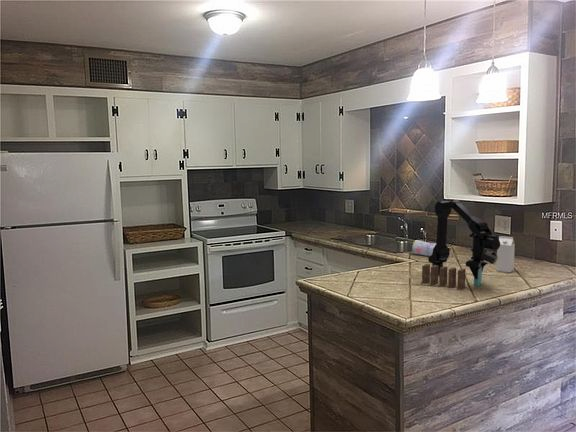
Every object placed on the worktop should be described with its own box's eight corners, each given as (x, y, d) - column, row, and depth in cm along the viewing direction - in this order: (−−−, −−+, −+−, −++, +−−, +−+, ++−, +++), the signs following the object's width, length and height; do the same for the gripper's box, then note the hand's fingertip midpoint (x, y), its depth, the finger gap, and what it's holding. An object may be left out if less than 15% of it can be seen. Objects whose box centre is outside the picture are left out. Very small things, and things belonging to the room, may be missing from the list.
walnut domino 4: (448, 287, 235) (448, 269, 234) (452, 285, 239) (452, 267, 238) (452, 287, 234) (452, 269, 233) (456, 285, 238) (456, 267, 237)
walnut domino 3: (439, 285, 238) (439, 268, 237) (443, 283, 242) (443, 266, 241) (443, 286, 237) (443, 268, 236) (447, 284, 241) (447, 266, 239)
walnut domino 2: (430, 284, 241) (430, 266, 240) (434, 282, 245) (434, 265, 244) (434, 285, 240) (434, 267, 238) (438, 282, 243) (438, 265, 242)
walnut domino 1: (422, 283, 244) (422, 265, 243) (426, 281, 248) (426, 263, 246) (425, 283, 242) (426, 266, 241) (429, 281, 246) (430, 264, 245)
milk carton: (500, 268, 270) (501, 235, 268) (513, 270, 265) (515, 236, 263) (496, 271, 264) (497, 236, 262) (510, 272, 260) (511, 238, 258)
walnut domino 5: (457, 288, 232) (457, 270, 231) (461, 286, 236) (461, 268, 235) (461, 289, 231) (461, 271, 230) (465, 287, 235) (465, 269, 234)
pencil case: (447, 257, 303) (448, 242, 302) (441, 259, 297) (442, 244, 296) (417, 253, 317) (417, 238, 316) (410, 255, 311) (410, 240, 310)
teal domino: (473, 285, 237) (474, 267, 236) (477, 283, 241) (477, 265, 240) (478, 286, 236) (478, 268, 235) (481, 283, 240) (481, 266, 239)
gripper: (489, 251, 224) (488, 284, 226) (501, 245, 238) (500, 276, 240) (465, 249, 231) (464, 281, 233) (478, 243, 245) (477, 273, 247)
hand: (477, 277), depth 238 cm, fingers closed on teal domino, 5 cm apart
